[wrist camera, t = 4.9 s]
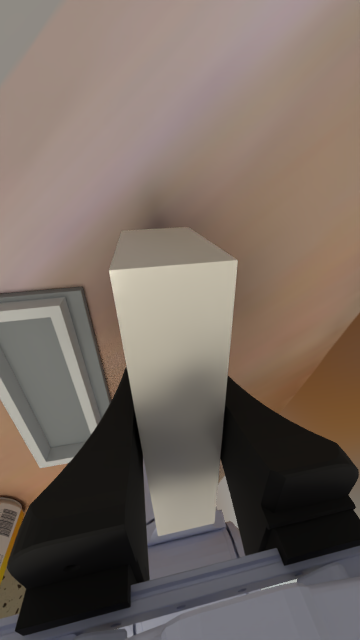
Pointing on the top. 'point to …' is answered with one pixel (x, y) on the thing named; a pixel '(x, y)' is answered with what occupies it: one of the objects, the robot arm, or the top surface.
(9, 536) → the beer can
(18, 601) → the food container
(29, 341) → the stepped grey tray
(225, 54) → the top surface
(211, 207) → the top surface
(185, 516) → the long cream rectangular block
